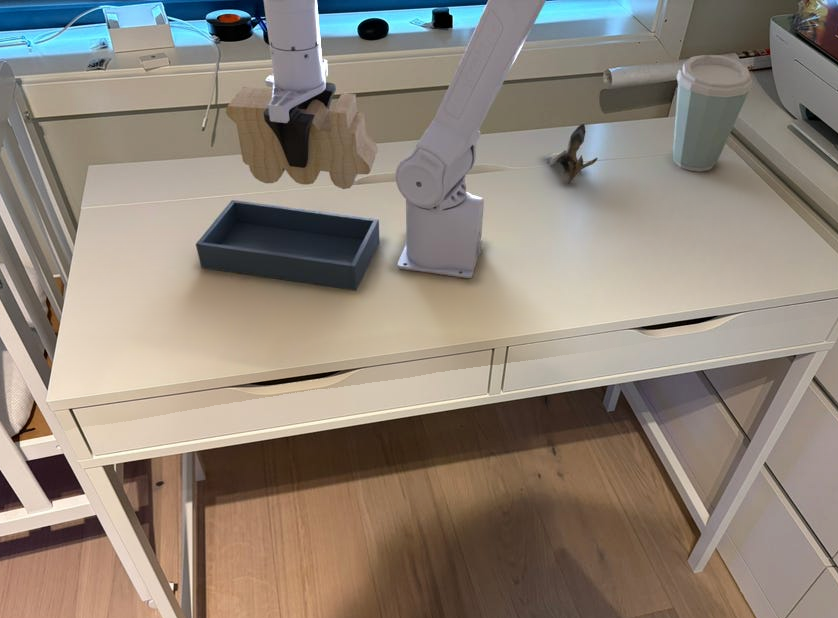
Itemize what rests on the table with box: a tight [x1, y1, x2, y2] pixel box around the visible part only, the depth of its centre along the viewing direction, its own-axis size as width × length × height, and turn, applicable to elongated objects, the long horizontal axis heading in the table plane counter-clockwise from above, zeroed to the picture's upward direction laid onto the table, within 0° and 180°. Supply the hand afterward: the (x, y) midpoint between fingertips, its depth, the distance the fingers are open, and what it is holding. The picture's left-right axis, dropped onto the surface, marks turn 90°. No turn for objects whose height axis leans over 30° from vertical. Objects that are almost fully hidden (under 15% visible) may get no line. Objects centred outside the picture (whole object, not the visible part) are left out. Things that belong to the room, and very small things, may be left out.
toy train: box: [225, 86, 379, 190], centre depth 90 cm, size 6×17×10 cm, turn 84°
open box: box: [195, 199, 380, 291], centre depth 91 cm, size 20×11×4 cm, turn 79°
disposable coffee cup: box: [672, 54, 753, 172], centre depth 109 cm, size 11×11×15 cm
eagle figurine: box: [544, 123, 599, 185], centre depth 109 cm, size 8×7×9 cm
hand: (307, 153), depth 91 cm, fingers closed on toy train, 6 cm apart
